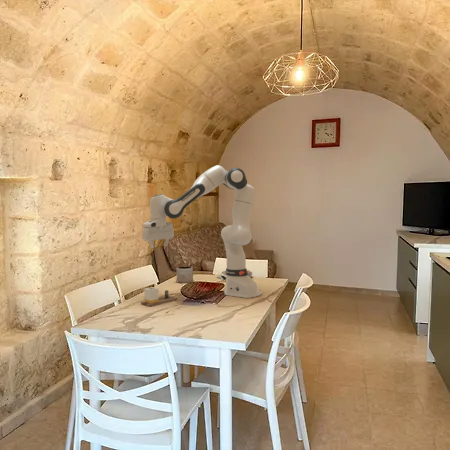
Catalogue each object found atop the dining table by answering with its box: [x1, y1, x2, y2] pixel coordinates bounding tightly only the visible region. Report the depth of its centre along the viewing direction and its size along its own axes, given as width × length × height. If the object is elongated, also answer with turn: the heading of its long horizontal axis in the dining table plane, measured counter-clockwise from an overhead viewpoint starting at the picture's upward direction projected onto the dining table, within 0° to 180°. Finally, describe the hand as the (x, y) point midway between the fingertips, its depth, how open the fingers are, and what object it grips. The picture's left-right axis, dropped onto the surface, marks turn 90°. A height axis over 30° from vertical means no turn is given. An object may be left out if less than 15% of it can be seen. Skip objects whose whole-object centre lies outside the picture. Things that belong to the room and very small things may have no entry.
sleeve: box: [144, 286, 159, 303], centre depth 212 cm, size 5×5×7 cm
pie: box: [216, 270, 253, 281], centre depth 277 cm, size 28×27×5 cm
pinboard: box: [140, 290, 178, 308], centre depth 216 cm, size 8×18×5 cm, turn 136°
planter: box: [176, 265, 194, 284], centre depth 266 cm, size 11×11×10 cm
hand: (159, 247), depth 230 cm, fingers open, 8 cm apart
